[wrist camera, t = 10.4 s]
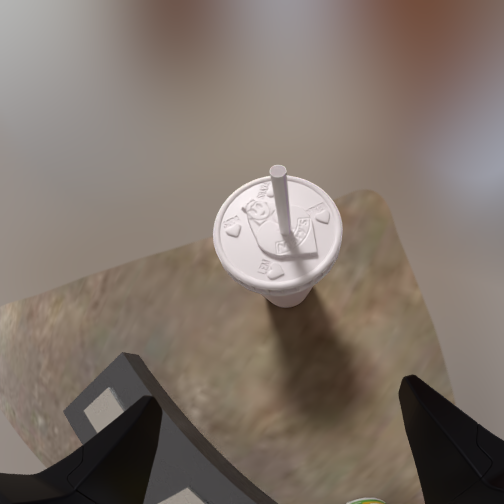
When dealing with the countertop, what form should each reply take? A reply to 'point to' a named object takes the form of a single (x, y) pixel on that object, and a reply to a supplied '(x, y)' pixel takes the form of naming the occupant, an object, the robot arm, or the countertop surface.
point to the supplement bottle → (367, 501)
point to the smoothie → (278, 236)
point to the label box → (162, 440)
